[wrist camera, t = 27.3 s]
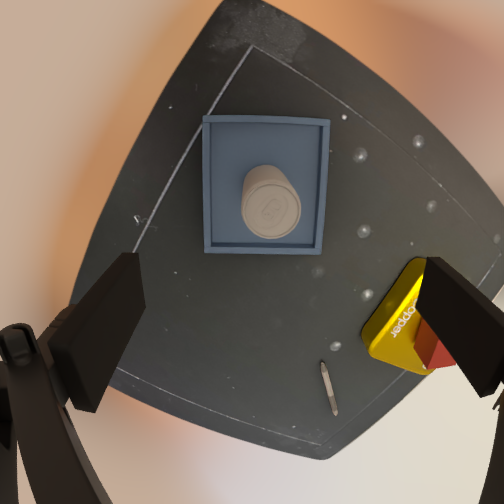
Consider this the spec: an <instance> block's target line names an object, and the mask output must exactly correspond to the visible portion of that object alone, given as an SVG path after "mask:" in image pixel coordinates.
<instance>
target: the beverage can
mask: <svg viewBox="0 0 504 504" xmlns="http://www.w3.org/2000/svg"><path fill="white" fill-rule="evenodd" d="M241 214H242V217H243V221H244V222H245V224H246V225H247V227H248V228H249V229H250V230H251V231H252V232H253V233H254V234H256V235H258V236H260V237H262V238H266V239H276V238H280V237H283V236H285V235H287V234H289V233H290V232H291V231H292V230H293V229H294V228H295V227H296V225H297V223H298V222H299V218H300V215H301V203H300V199H299V196H298V195H297V193H296V191H295V190H294V188H293V187H292V185H291V184H290V182H289V181H288V180H287V178H286V177H285V175H284V174H283V173H282V172H281V171H280V170H279V169H278V168H277V167H275V166H272V165H261V166H257V167H255V168H253V169H252V170H251V171H249V172H248V173H247V175H246V177H245V179H244V184H243V192H242V201H241Z"/></svg>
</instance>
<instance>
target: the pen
mask: <svg viewBox="0 0 504 504" xmlns="http://www.w3.org/2000/svg"><path fill="white" fill-rule="evenodd" d="M320 367H321V372H322V376H323V379H324V383H325V386H326V390H327V394H328V398H329V402H330V405H331V409H332V412H333V414H334V415H335V416H337V414H338V410H337V405H336V401H335V397H334V393H333V390H332V386H331V382H330V378H329V375H328V371H327V367H326V365H325V364H324V363H323V362H322V363H321V366H320Z"/></svg>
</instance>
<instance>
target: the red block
mask: <svg viewBox="0 0 504 504" xmlns="http://www.w3.org/2000/svg"><path fill="white" fill-rule="evenodd" d="M413 348H414V350H415V352H416V353H417V355H418V356H419V358H420V360H421V361H422V363H423V364H424V366H425V368H426V369H427V370H430V369H436V368H441V367H447V366H452V365H456V362H455V360H454V359H453V358H452V356H451V355H450V353H449V352H448V351H447V349H446V348H445V347H444V345H443V344H442V343H441V341H440V340H439V339H438V337H437V336H436V335H435V333H434V332H433V331H432V329H431V328H430V327H429V325H428V324H427V323H426V321H425V320H424V319H422V322H421V325H420V328H419V331H418V335H417V338H416V341H415V344H414V346H413Z"/></svg>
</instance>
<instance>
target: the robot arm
mask: <svg viewBox="0 0 504 504" xmlns="http://www.w3.org/2000/svg"><path fill="white" fill-rule="evenodd" d="M145 308H146V306H145V300H144V293H143V286H142V279H141V271H140V263H139V255H138V253H121V255H120V256H119V257H118V258H117V259H116V260H115V261H114V262H113V263H112V265H111V266H110V267H109V268H108V269H107V270H106V271H105V272H104V274H103V275H102V276H101V277H100V278H99V279H98V280H97V282H96V283H95V284H94V285H93V286H92V287H91V289H90V290H89V291H88V292H87V293H86V294H85V296H84V297H83V298H82V299H81V300H80V302H79V303H78V304H77V305H75V304H71V305H69V306H68V307H66V308H65V309H63V310H62V311H61V312H60V313H59V314H58V315H57V316H56V317H55V320H53V321H52V323H50V325H49V327H47V328H46V330H45V331H44V332H43V333H42V334H41V336H40V337H39V338H38V339H37V340H36V338H35V335H34V332H33V330H32V328H31V326H29V325H27V324H24V323H17V324H12V325H9V326H7V327H5V328H3V329H2V330H1V331H0V355H1V357H2V360H3V361H0V504H19V502H18V486H17V441H18V445H19V449H20V453H21V457H22V460H23V464H24V467H25V471H26V474H27V477H28V480H29V484H30V486H31V490H32V492H33V495H34V498H35V501H36V504H113V503H112V502H111V500H110V498H109V497H108V494H107V493H106V491H105V489H104V488H103V486H102V484H101V482H100V480H99V478H98V476H97V474H96V472H95V470H94V469H93V467H92V465H91V463H90V461H89V459H88V456H87V455H86V452H85V450H84V448H83V446H82V444H81V441H80V439H79V437H78V435H77V432H76V430H75V428H74V425H73V423H72V421H71V419H70V416H69V413H68V411H67V409H66V407H65V404H66V402H67V400H68V399H69V397H70V399H71V402H72V404H73V406H74V408H75V409H77V410H82V411H86V412H91V413H95V412H96V410H97V408H98V406H99V403H100V401H101V399H102V397H103V394H104V392H105V390H106V388H107V386H108V384H109V381H110V379H111V377H112V375H113V373H114V371H115V369H116V367H117V364H118V362H119V360H120V358H121V356H122V354H123V352H124V350H125V348H126V346H127V344H128V342H129V340H130V338H131V336H132V334H133V332H134V330H135V328H136V326H137V324H138V322H139V320H140V318H141V316H142V314H143V312H144V310H145ZM415 309H416V310H417V311H418V312H419V314H420V315H421V316H422V317H423V319H424V320H425V321H426V323H427V324H428V325H429V327H430V328H431V329H432V331H433V332H434V333H435V335H436V336H437V337H438V339H439V340H440V341H441V343H442V344H443V345H444V347H445V348H446V349H447V351H448V352H449V353H450V355H451V356H452V358H453V359H454V360H455V362H456V363H457V365H458V366H459V367H460V369H461V370H462V372H463V373H464V374H465V376H466V378H467V379H468V380H469V382H470V383H471V385H472V386H473V388H474V389H475V391H476V392H477V394H478V395H479V397H480V398H482V397H485V396H488V395H492V394H494V393H495V391H496V389H497V387H498V385H499V384H500V382H502V383H503V384H504V312H502V311H501V310H500V309H499V308H498V307H496V305H495V304H493V303H492V302H491V301H490V300H489V299H488V298H487V297H486V296H485V295H484V294H482V293H481V292H480V291H479V290H478V289H477V288H476V287H475V286H473V285H472V284H471V283H470V282H469V281H468V280H467V279H465V278H464V277H463V276H462V275H461V274H460V273H458V272H457V271H456V270H455V269H454V268H452V267H451V266H450V265H449V264H448V263H446V262H445V261H444V260H443V259H442V258H440V257H427V260H426V265H425V269H424V274H423V278H422V282H421V286H420V290H419V294H418V298H417V301H416V305H415ZM498 405H500V407H499V409H498V411H499V414H498V421H497V428H496V434H495V439H494V445H493V449H492V454H491V459H490V464H489V468H488V472H487V476H486V479H485V483H484V487H483V490H482V494H481V497H480V500H479V504H504V389H503V391H502V393H501V394H500V396H499V398H498V399H497V401H496V403H495V404H494V406H493V408H492V409H493V410H495V408H496V407H497V406H498Z"/></svg>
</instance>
